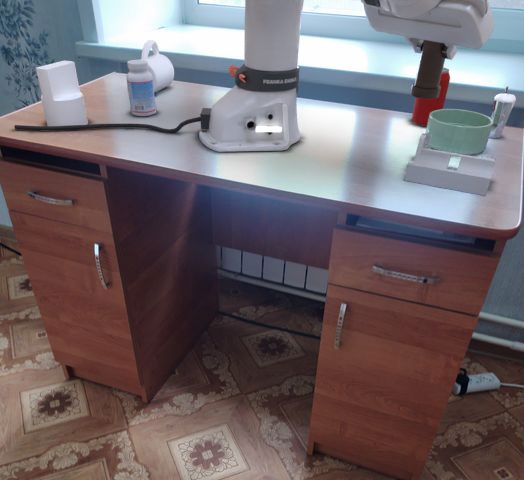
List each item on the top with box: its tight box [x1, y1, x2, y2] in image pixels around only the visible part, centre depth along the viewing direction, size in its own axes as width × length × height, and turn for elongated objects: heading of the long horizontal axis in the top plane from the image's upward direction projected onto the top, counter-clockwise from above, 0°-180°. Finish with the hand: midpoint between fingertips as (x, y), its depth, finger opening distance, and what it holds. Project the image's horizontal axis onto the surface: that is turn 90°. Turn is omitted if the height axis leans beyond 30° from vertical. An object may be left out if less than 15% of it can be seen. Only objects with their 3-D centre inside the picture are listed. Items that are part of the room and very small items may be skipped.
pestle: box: [410, 40, 446, 99], centre depth 83 cm, size 5×5×12 cm
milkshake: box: [489, 85, 517, 139], centre depth 115 cm, size 5×5×10 cm
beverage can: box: [411, 66, 451, 127], centre depth 120 cm, size 7×7×12 cm
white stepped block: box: [35, 60, 89, 126], centre depth 112 cm, size 9×9×12 cm
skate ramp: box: [403, 132, 497, 197], centre depth 97 cm, size 15×13×5 cm
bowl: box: [424, 108, 493, 156], centre depth 110 cm, size 13×13×6 cm
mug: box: [128, 39, 175, 94], centre depth 136 cm, size 8×10×12 cm
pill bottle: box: [125, 59, 157, 117], centre depth 120 cm, size 6×6×11 cm
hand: (435, 52), depth 83 cm, fingers closed on pestle, 4 cm apart
